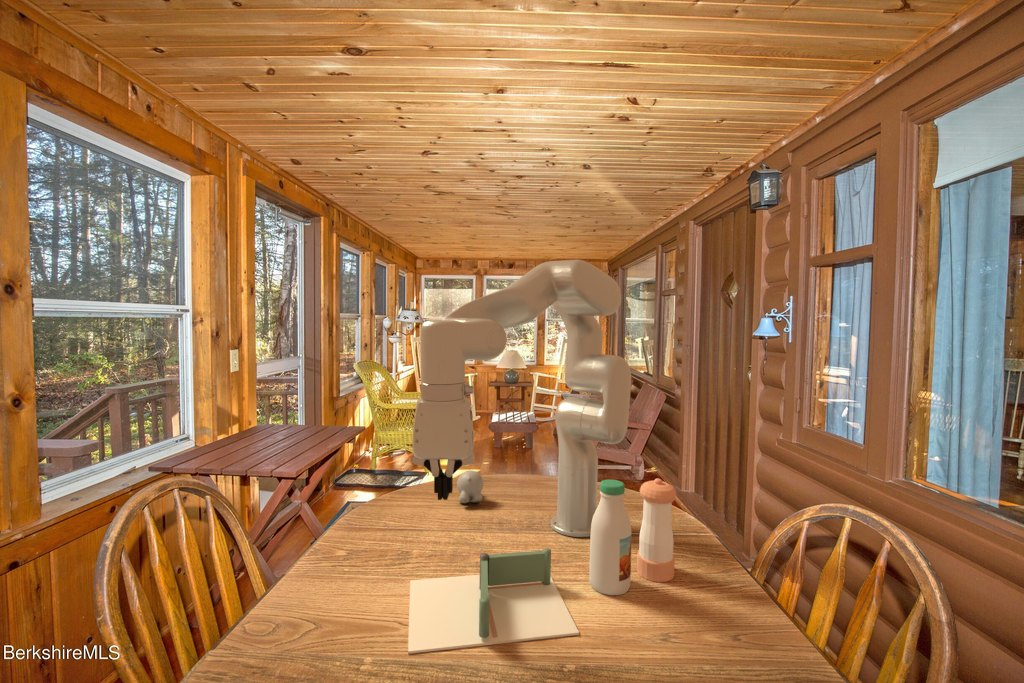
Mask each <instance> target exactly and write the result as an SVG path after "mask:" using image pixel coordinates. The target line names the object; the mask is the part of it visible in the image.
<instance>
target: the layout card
mask: <svg viewBox="0 0 1024 683" xmlns="http://www.w3.org/2000/svg"><path fill="white" fill-rule="evenodd" d="M479 587H480V574H472V575H471V574H469V575H459V576H458V575H457V576H446V577H435V578H423V579H422V578H421V579H412V580H411V579H410V581H409V609H408V613H409V614H408V640H407V642H408V643H407V644H408V645H407V654H409V655H411V654H421V653H427V652H439V651H447V650H455V649H464V648H474V647H483V646H491V645H499V644H509V643H519V642H525V641H526V642H528V641H537V640H545V639H546V640H547V639H554V638H561V637H562V638H564V637H570V636H571V637H572V636H579V635H580V632H579V630H578V628H577V626H576V623H575V621H574V620H573V618H572V615H571V614H570V612H569V610H568V607H567V606H566V604H565V602H564V600H563V598H562V596H561V594H560V592H559V590H558V587H557V586H556V584H555V582H554V580H553V578H552V576H551V577H550V585H543V583H542V582H531V583H520V584H509V585H497V586H488V598H489V600H490V604H489V636H488V637H486V638H481V637H480V636H479V600H480V596H481V590H480V589H479Z"/></svg>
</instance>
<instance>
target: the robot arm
mask: <svg viewBox="0 0 1024 683" xmlns="http://www.w3.org/2000/svg"><path fill="white" fill-rule="evenodd" d="M621 303H622V291H621V287H620V286H619V284H618V282H617V281H616V280H615V279H614V278H613V277H611V275H609V274H607V273H605V271H603V270H601V269H600V268H598V267H597V266H595V265H594V264H592V263H590V262H588V261H585V260H582V259H565V260H551V261H545V262H541V263H540V264H538V265H536V266H534V267H533V268H531V269H530V270H529V271H527V272H526V273H525V274H523V275H522V276H521V277H520V278H518V279H517V280H515V281H514V282H512V283H510V284H509V285H508V286H506V287H504V288H500V289H498V290H496V291H493V292H491V293H489V294H486V295H483V296H480V297H479V298H475V299H473V300H471V301H469V302H467V303H464V304H463V305H461V306H459V307H458V308H457V309H455V310H453V311H452V312H450V313H449V314H447V315H446V316H445V317H444V318H442V319H436V320H435V319H434V320H433V319H432V320H430V319H429V320H426V321H424V322H422V325H421V327H420V398H417V400H416V401H417V402H416V405H415V406H416V407H415V411H414V419H413V428H412V429H413V432H412V454H413V455H412V458H411V463H412V464H414V465H418V466H422V467H425V468H426V469H427V470H428V471H429V473H431V475H432V477H433V487H434V488H433V491H434V494H437V501H441V500H443V501H447V500H448V498H449V496H450V494H453V489H454V488H453V483H454V482H453V480H454V479H453V478H454V476H453V475H455V473H456V472H457V471H458V470H459V469H460V468H461V467H466V466H469V465H472V464H474V463H475V461H476V460H475V455H474V451H473V449H474V443H475V442H474V422H473V412H472V404H471V400H470V398H468V397H467V395H469V394H474V385H470V384H468V383H467V382H466V361H468V360H469V361H473V360H474V361H483V362H485V361H491V360H494V359H496V358H497V357H499V356H500V355H501V354H502V353H503V352H504V350H506V349H505V348H506V346H507V342H508V341H507V340H508V337H507V333H506V331H505V329H508V328H515V327H519V326H522V325H523V326H524V325H526V324H529V323H530V322H531V323H532V322H533V321H534V320H536V319H537V317H539V316H540V315H541V314H542V313H544V312H545V311H546V310H547V309H549V307H551V306H552V307H553V308H554V310H555V311H556V312H557V314H558V315H559V316H560V318H561V320H562V322H563V324H564V327H565V329H566V353H565V368H564V382H565V384H566V387H567V388H568V389H570V390H572V391H575V392H579V393H585V394H593V395H600V396H602V398H603V399H602V400H598V399H593V398H586V397H577V396H575V397H574V396H571V397H568V398H564V399H562V400H561V401H560V402H559V403H558V404H557V406H556V407H555V408H556V409H555V413H554V422H555V427H556V434H557V443H558V458H557V459H558V460H557V462H558V464H557V466H558V467H557V469H558V470H557V501H556V502H557V505H556V508H557V509H556V514H554V515H553V516H552V517H551V518H550V527H551V528H552V530H553V531H555V532H557V533H559V534H561V535H564V536H569V537H573V538H574V537H575V538H588V537H590V535H591V523H592V518H593V515H594V513H595V511H596V509H597V507H598V473H599V472H598V470H599V469H598V468H599V458H598V457H599V456H598V451H597V449H596V446H595V443H594V442H599V443H601V444H608V445H615V444H619V443H621V442H622V441H623V440H624V438H625V436H626V435H627V431H628V424H629V417H630V415H629V414H630V402H631V390H632V389H631V388H632V372H631V367H630V365H629V362H628V361H627V360H626V359H625V358H623V357H622V356H619V355H613V354H604V353H603V335H604V334H603V330H602V328H601V325H600V323H599V321H598V320H597V318H596V317H599V316H601V317H605V316H606V317H607V316H611V315H613V314H615V313H616V312H617V311H618V309H619V308H620V305H621ZM595 316H596V317H595ZM441 460H447V461H446V462H447V464H446V469H445V471H443V468H442V465H441Z"/></svg>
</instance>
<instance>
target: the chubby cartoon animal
mask: <svg viewBox="0 0 1024 683" xmlns="http://www.w3.org/2000/svg"><path fill="white" fill-rule="evenodd" d="M456 487H457V491H458V493H459V494H460V495H459V496H458V503H460V504H468V503H469V502H471V503H474V504H475V503H480V502H481V501H483V494H482V491H483V489H484V480H483V477H482V475H481V474H479V472H477V471H475V470H466V471H464V472H462V473H461V474H460V475H459V477H458V478H457V482H456Z"/></svg>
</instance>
